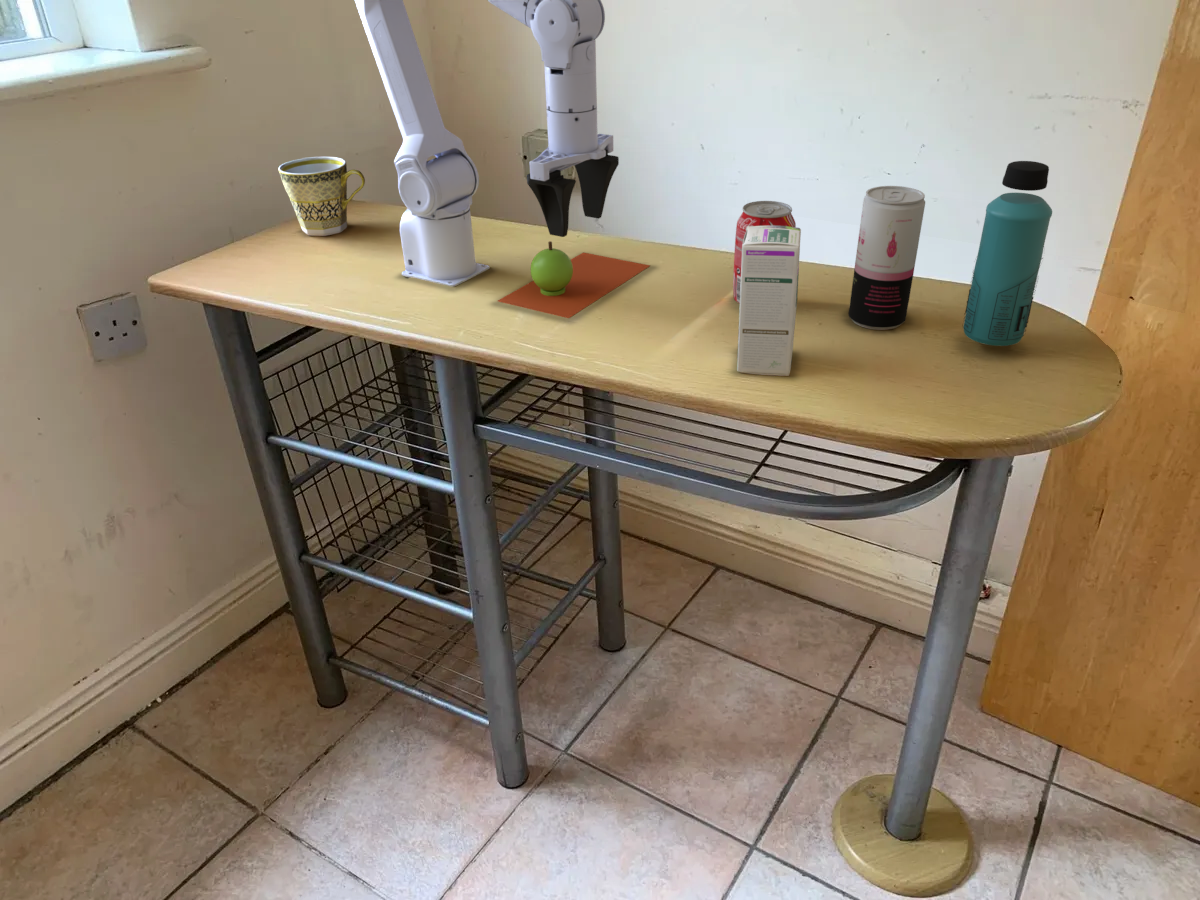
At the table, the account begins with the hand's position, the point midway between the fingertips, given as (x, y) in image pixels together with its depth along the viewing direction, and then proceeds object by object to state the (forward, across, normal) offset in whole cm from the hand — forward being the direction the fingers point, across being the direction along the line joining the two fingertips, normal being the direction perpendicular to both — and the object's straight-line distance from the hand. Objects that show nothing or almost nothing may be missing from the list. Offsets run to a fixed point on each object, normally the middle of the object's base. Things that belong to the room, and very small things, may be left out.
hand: (576, 225), depth 108 cm
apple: (+10, 0, +4) cm, 10 cm away
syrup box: (+10, -5, -27) cm, 29 cm away
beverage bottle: (+10, +12, -47) cm, 50 cm away
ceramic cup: (+10, +5, +50) cm, 51 cm away
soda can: (+10, +10, -20) cm, 25 cm away
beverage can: (+10, +12, -34) cm, 38 cm away
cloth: (+10, +4, +3) cm, 11 cm away
